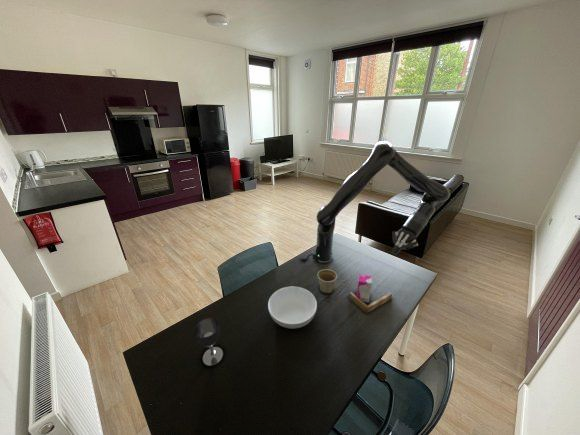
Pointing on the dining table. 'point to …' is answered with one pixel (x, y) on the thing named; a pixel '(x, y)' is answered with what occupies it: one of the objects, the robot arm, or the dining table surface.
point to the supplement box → (364, 287)
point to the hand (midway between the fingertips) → (393, 253)
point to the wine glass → (209, 340)
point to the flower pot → (326, 280)
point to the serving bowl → (292, 307)
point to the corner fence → (372, 305)
